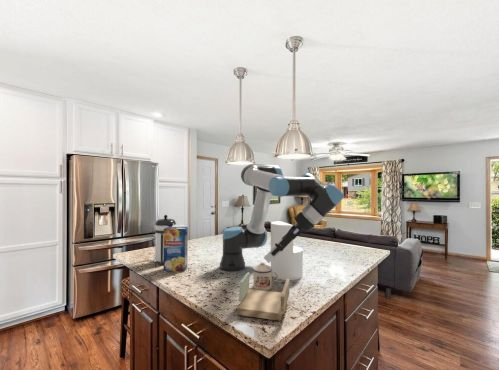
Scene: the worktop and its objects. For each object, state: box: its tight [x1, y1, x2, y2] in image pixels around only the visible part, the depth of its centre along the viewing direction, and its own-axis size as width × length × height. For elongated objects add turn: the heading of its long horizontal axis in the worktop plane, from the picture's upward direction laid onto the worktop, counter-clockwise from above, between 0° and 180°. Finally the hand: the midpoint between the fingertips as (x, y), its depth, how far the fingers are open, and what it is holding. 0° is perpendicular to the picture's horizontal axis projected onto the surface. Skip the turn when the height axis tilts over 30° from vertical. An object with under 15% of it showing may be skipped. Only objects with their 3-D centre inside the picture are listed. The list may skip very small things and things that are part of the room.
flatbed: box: [236, 279, 290, 322], centre depth 97 cm, size 17×18×9 cm
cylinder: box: [270, 220, 304, 281], centre depth 137 cm, size 17×17×28 cm
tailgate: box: [238, 272, 251, 303], centre depth 100 cm, size 2×11×8 cm, turn 165°
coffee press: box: [152, 214, 177, 266], centre depth 159 cm, size 17×16×30 cm
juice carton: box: [162, 226, 189, 272], centre depth 144 cm, size 12×8×24 cm, turn 92°
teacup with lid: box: [252, 261, 278, 291], centre depth 118 cm, size 12×9×12 cm
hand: (269, 255), depth 98 cm, fingers open, 13 cm apart
